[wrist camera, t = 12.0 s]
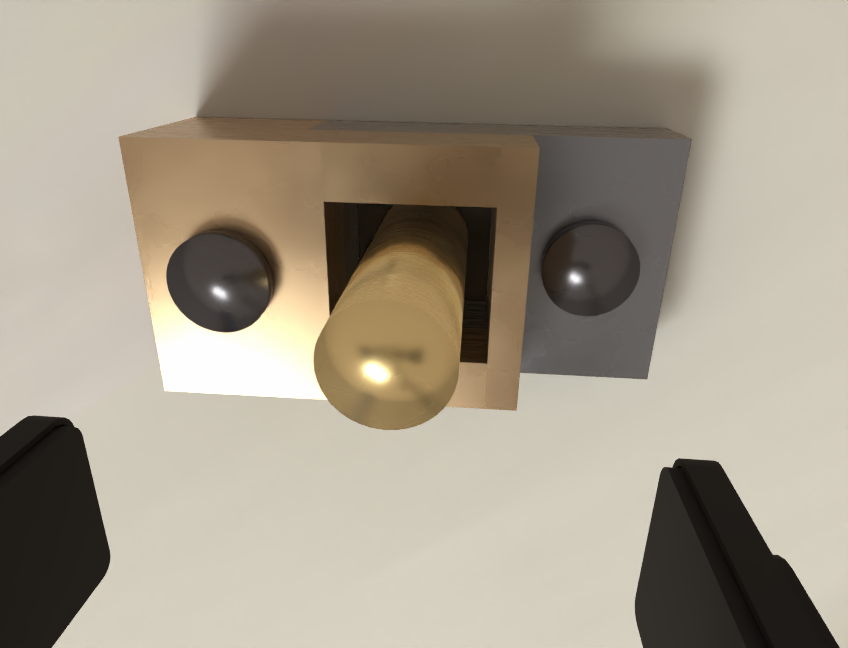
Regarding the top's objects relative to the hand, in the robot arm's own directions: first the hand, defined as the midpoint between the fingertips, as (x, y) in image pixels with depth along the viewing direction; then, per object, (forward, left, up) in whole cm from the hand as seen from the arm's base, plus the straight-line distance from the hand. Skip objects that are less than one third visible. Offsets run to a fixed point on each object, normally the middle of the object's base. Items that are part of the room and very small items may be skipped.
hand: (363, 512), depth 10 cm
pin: (0, 0, -14) cm, 14 cm away
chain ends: (0, 0, -14) cm, 14 cm away
